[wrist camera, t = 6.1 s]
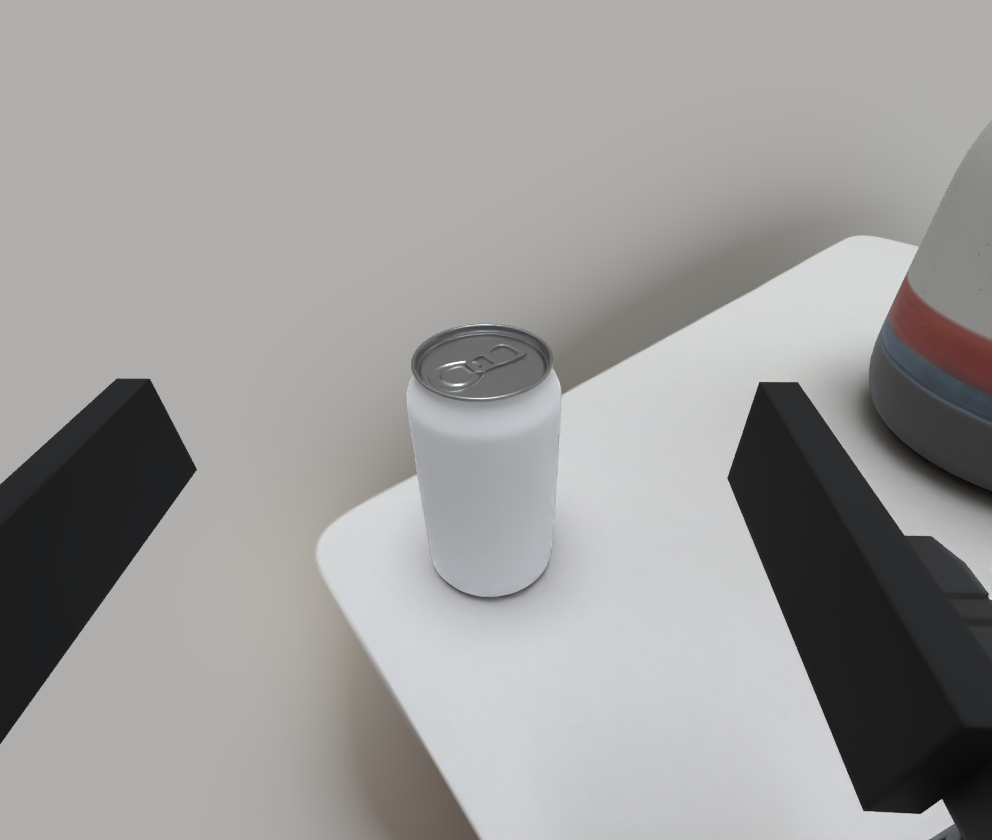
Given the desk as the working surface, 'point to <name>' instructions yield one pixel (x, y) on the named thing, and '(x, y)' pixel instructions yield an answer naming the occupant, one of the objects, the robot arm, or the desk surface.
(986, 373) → the vase
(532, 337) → the can
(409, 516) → the desk surface
